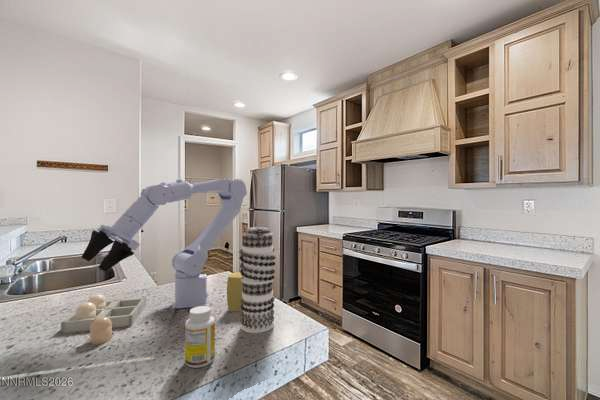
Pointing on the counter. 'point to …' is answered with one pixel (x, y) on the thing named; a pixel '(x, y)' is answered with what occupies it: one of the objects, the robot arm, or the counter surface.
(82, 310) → the pale egg
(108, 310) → the carton
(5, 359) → the counter surface
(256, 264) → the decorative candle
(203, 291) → the robot arm
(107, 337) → the egg
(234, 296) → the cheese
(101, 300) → the pale egg
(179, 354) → the counter surface
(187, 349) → the supplement bottle
